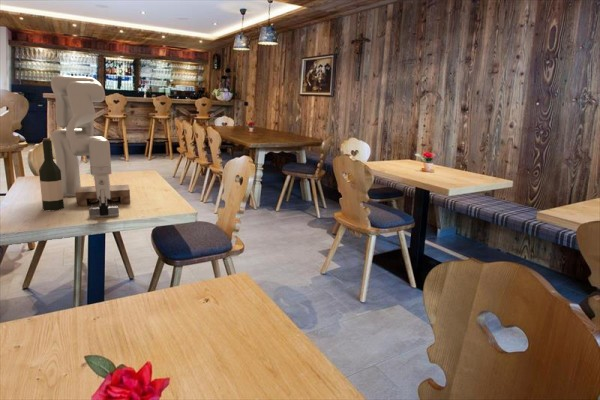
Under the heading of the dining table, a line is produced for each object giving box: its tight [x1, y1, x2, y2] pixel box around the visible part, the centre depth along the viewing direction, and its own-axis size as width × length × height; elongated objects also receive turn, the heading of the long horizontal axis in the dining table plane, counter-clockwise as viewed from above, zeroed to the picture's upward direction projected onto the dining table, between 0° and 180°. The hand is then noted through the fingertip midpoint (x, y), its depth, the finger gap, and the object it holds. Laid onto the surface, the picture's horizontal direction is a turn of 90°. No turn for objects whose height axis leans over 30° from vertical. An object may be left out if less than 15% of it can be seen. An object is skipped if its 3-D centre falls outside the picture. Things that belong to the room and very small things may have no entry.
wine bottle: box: [38, 137, 65, 211], centre depth 186 cm, size 8×8×30 cm
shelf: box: [75, 184, 131, 208], centre depth 202 cm, size 22×12×6 cm, turn 114°
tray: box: [88, 203, 120, 219], centre depth 187 cm, size 11×16×4 cm
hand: (104, 214), depth 178 cm, fingers closed
